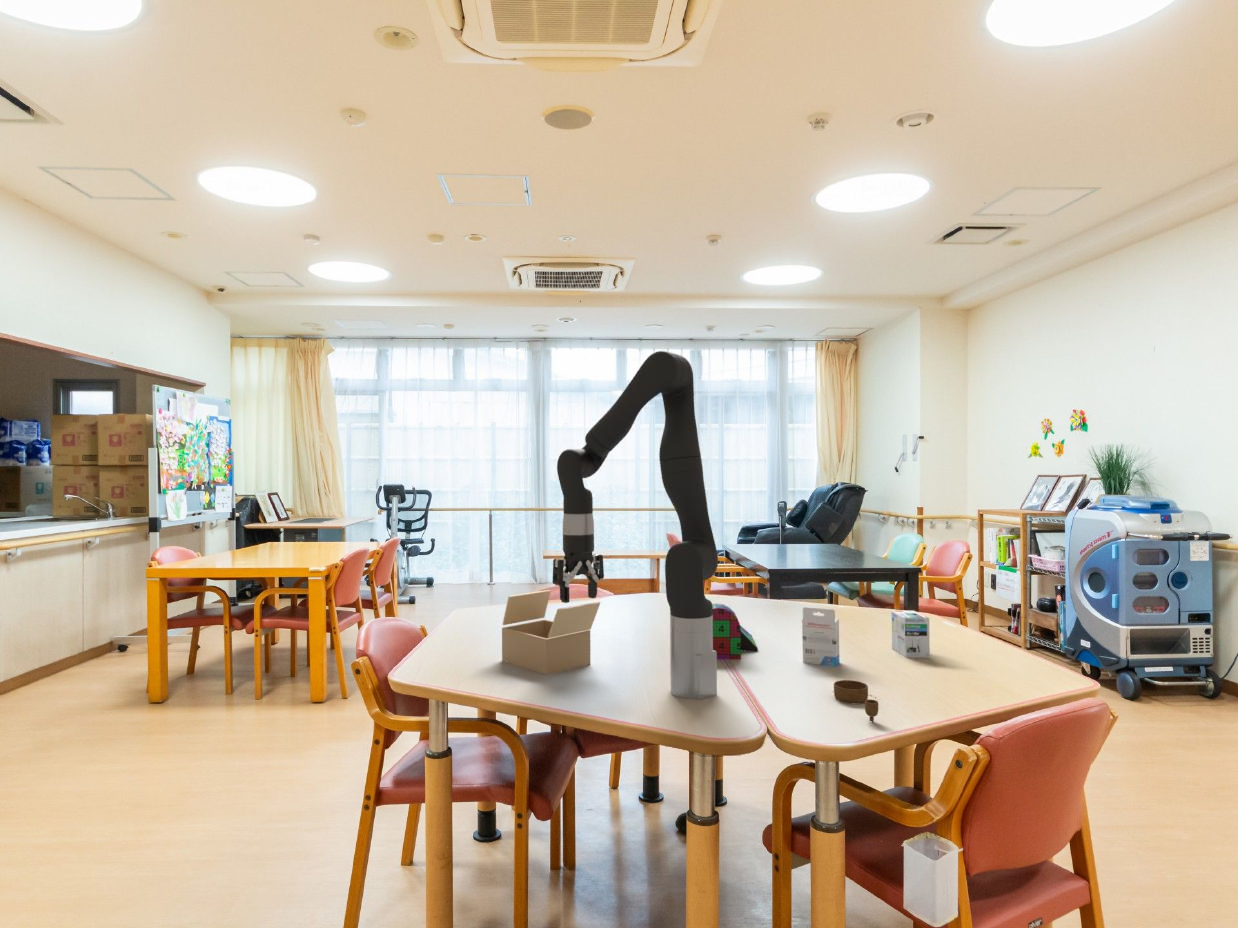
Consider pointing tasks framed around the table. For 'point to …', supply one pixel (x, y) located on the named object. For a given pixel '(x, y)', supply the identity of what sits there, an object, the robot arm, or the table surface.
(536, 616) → the far flap
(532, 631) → the carton
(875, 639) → the table surface
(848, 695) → the place setting
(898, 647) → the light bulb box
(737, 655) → the toy block train
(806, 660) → the ink box
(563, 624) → the near flap
